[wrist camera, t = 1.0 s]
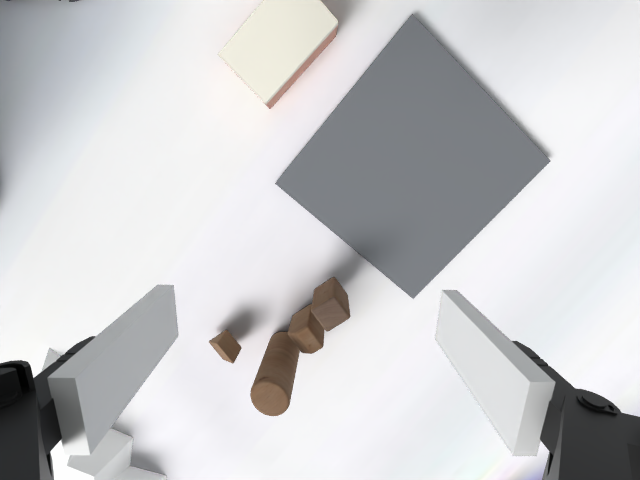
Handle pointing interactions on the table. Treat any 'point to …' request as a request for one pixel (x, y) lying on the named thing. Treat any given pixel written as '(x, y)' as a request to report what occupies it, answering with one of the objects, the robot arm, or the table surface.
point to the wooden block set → (290, 347)
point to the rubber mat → (412, 161)
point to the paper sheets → (99, 456)
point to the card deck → (279, 45)
